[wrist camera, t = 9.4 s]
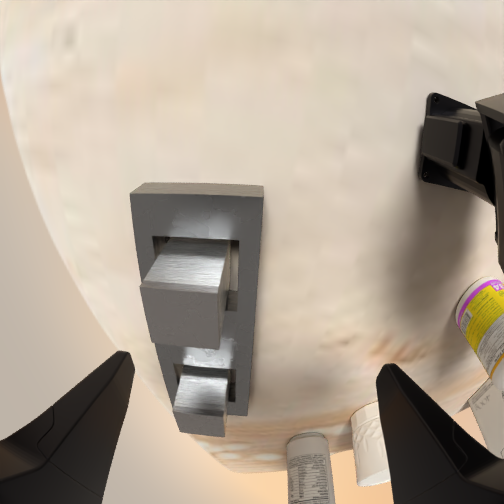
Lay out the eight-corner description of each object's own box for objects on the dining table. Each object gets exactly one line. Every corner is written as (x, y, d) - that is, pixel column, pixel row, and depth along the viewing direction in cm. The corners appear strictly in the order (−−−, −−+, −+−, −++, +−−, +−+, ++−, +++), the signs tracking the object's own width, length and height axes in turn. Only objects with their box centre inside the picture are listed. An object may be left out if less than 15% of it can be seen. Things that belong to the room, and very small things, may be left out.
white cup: (361, 398, 29) (377, 469, 20) (411, 394, 30) (432, 456, 21) (337, 427, 33) (346, 489, 24) (384, 424, 33) (398, 480, 24)
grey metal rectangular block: (230, 233, 20) (217, 293, 14) (229, 281, 22) (218, 349, 16) (174, 230, 20) (139, 286, 14) (178, 278, 22) (151, 342, 16)
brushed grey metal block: (230, 353, 26) (223, 417, 19) (230, 378, 27) (224, 437, 21) (187, 349, 26) (172, 411, 19) (192, 374, 27) (180, 432, 21)
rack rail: (263, 185, 18) (263, 197, 16) (248, 397, 29) (247, 416, 27) (144, 182, 18) (129, 193, 16) (177, 390, 29) (172, 408, 27)
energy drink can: (287, 448, 36) (290, 533, 23) (284, 433, 34) (287, 530, 20) (326, 443, 36) (335, 527, 22) (328, 428, 33) (339, 524, 20)
